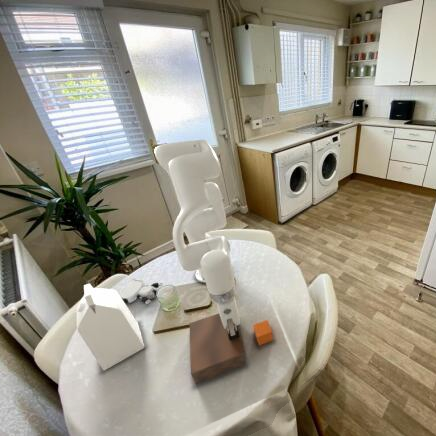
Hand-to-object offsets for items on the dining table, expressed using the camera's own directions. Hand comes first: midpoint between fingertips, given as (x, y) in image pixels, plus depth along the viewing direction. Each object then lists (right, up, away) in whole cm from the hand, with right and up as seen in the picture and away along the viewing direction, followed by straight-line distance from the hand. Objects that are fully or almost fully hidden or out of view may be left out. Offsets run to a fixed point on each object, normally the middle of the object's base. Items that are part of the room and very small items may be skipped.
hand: (232, 330), depth 77 cm
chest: (-5, -7, +1) cm, 9 cm away
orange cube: (+10, -5, +4) cm, 11 cm away
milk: (-38, -7, +4) cm, 39 cm away
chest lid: (-5, -2, -1) cm, 6 cm away
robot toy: (-44, +3, +23) cm, 50 cm away
